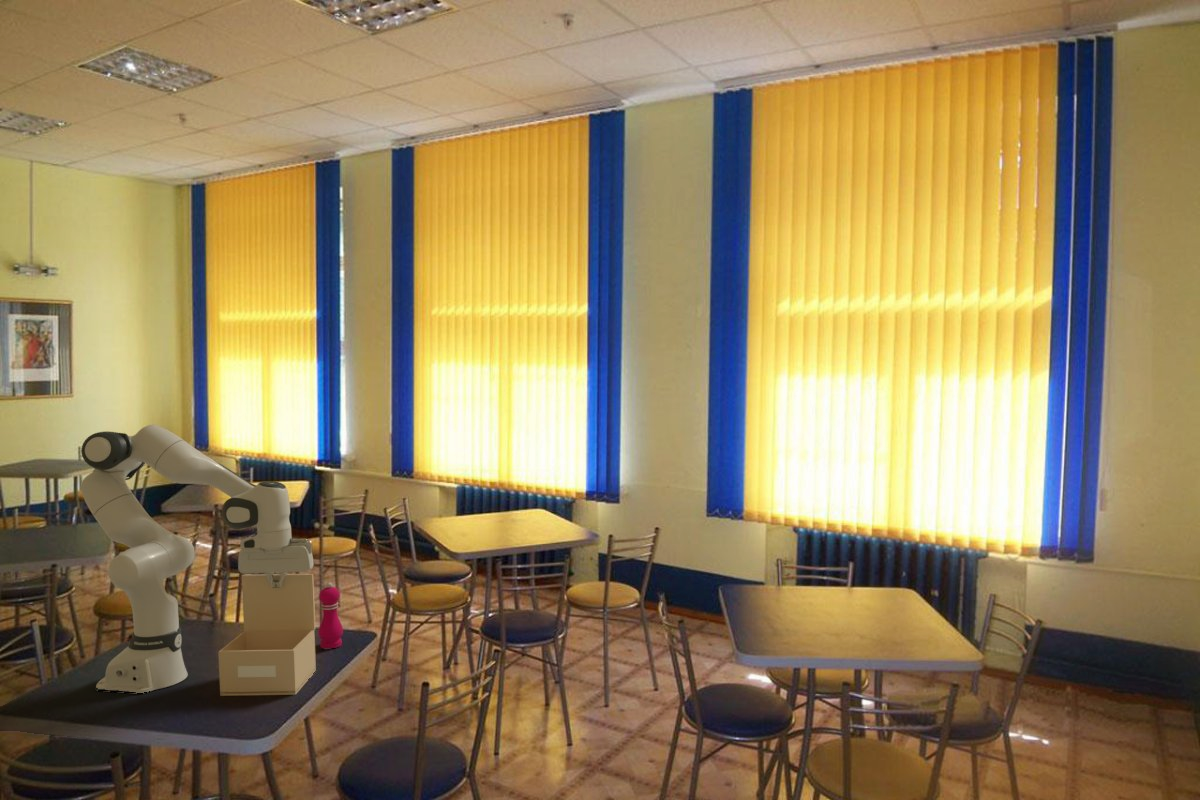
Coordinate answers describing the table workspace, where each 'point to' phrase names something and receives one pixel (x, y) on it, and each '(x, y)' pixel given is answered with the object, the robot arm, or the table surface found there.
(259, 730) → the table surface
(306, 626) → the carton lid
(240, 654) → the carton
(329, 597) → the pepper mill
